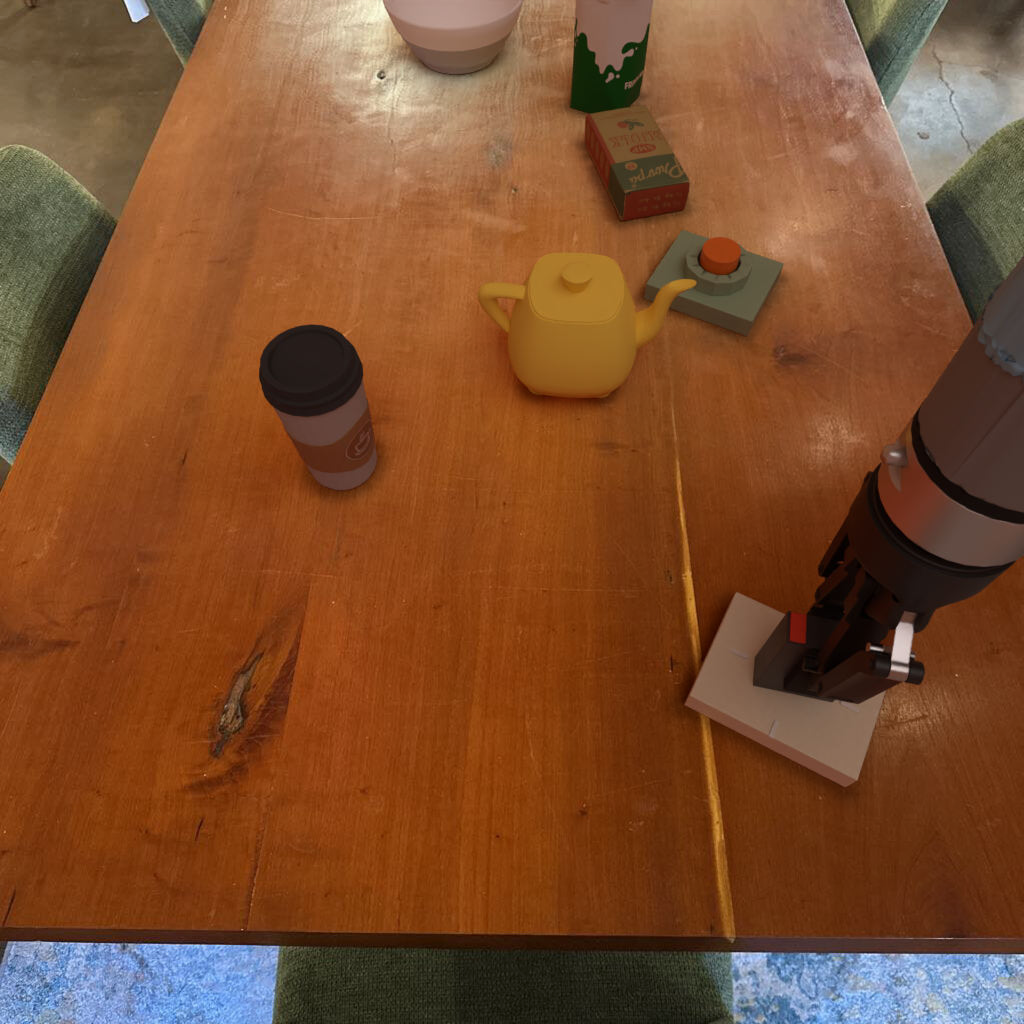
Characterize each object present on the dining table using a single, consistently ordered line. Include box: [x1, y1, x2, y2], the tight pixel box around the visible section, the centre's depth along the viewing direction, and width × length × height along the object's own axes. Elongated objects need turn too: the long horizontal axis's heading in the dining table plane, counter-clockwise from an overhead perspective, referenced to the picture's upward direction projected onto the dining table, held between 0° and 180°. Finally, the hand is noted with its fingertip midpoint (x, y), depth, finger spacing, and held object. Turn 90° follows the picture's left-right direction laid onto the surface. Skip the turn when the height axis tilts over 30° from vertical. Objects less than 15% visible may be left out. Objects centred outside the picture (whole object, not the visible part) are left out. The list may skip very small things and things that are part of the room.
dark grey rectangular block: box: [753, 610, 840, 702], centre depth 55 cm, size 6×2×9 cm, turn 77°
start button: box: [700, 236, 741, 275], centre depth 81 cm, size 4×4×2 cm
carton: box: [584, 104, 691, 222], centre depth 93 cm, size 8×16×4 cm, turn 14°
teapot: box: [477, 251, 697, 399], centre depth 74 cm, size 13×20×12 cm
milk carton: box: [569, 0, 654, 114], centre depth 95 cm, size 9×9×20 cm
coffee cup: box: [258, 323, 378, 491], centre depth 67 cm, size 8×8×15 cm
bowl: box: [382, 0, 524, 75], centre depth 107 cm, size 20×20×8 cm
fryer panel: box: [683, 591, 887, 788], centre depth 60 cm, size 13×10×3 cm
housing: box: [643, 229, 785, 337], centre depth 83 cm, size 12×10×4 cm
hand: (802, 668), depth 57 cm, fingers closed on dark grey rectangular block, 2 cm apart
